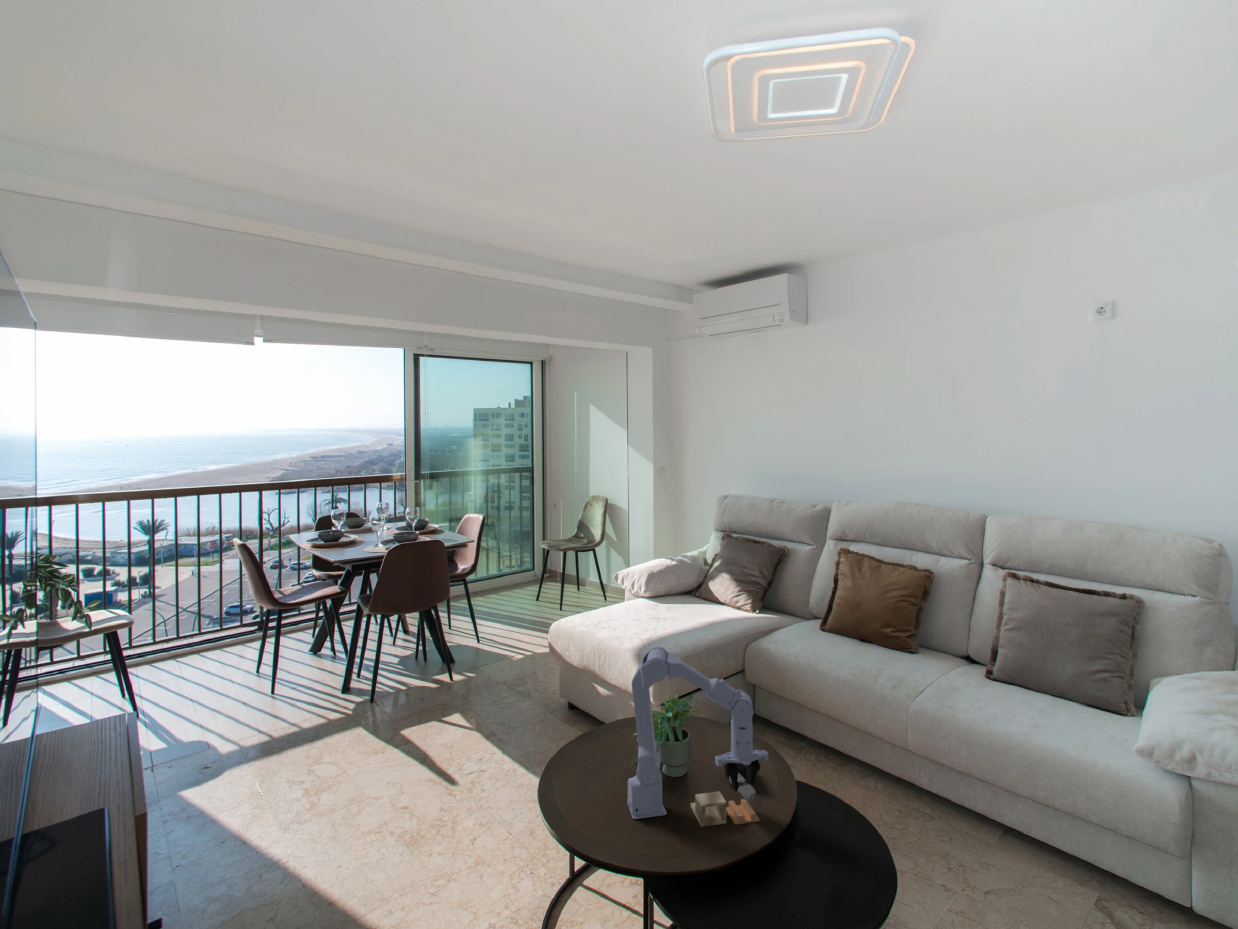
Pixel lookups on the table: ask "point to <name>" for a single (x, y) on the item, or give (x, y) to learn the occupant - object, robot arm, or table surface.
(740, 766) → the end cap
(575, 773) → the table surface
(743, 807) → the cradle
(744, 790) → the axle
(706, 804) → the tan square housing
